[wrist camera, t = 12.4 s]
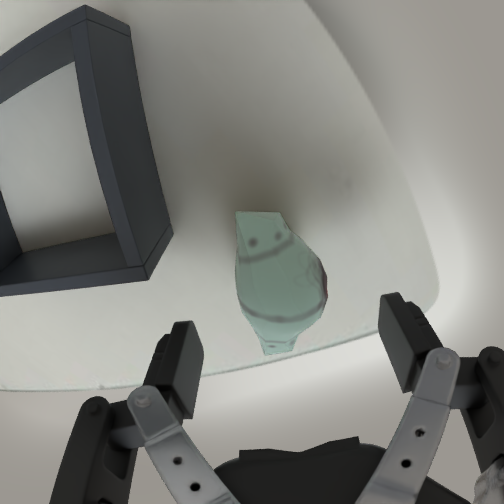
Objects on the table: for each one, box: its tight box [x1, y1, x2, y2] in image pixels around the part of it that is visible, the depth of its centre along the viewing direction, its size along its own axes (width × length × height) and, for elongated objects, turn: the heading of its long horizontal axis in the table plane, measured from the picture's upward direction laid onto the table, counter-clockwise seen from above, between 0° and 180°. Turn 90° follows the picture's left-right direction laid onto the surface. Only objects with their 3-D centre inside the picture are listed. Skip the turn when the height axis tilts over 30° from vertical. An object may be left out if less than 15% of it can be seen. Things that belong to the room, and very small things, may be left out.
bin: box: [0, 5, 173, 297], centre depth 13 cm, size 14×13×5 cm
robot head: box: [235, 212, 328, 355], centre depth 15 cm, size 8×4×7 cm, turn 10°
